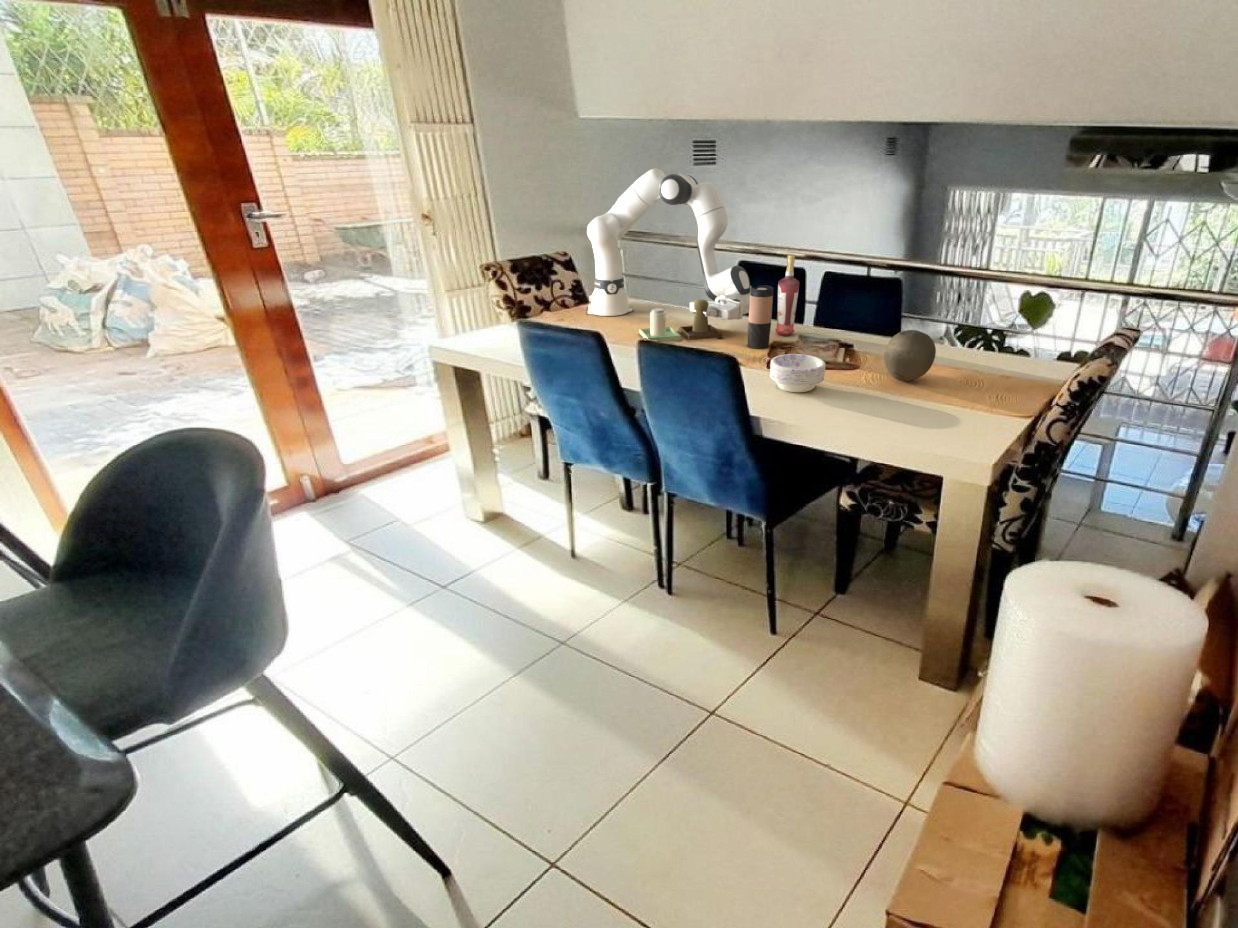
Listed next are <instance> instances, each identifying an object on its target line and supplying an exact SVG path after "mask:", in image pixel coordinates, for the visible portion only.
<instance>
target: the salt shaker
mask: <svg viewBox="0 0 1238 928" xmlns="http://www.w3.org/2000/svg"><path fill="white" fill-rule="evenodd" d="M666 314H667V313H666V311H665V309H664V308H662V307H661V308H660V307H656V308H651V311H649V328H650V337H662V336H665V327H666Z"/></svg>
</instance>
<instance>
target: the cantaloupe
mask: <svg viewBox="0 0 1238 928" xmlns="http://www.w3.org/2000/svg"><path fill="white" fill-rule="evenodd" d="M886 345H887V346H886V348H885V350H884V353H883V362H884V365H885V368H886V371H887V372H888V373H889V375H890V376H891V377H893V378H894V379H895V380H897V381H901V382H911V381H914V380H917V379H920V378H922V377H924V375H926V374H927V373H928V372H929V371H930V369H931V367H932V366H933V364H934V362H935V359H936V354H937V349H936V345H935V342H934V340H933V338H932V337H931V336H930V335H929V334H927V333H925V332H923V331H920V330H917V329H906V330H901V331H899V332H898V333H896V334H894V335H893V336H892V337H891V339H890V340H888V343H887V344H886ZM910 380H911V381H910Z"/></svg>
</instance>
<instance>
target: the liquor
mask: <svg viewBox="0 0 1238 928" xmlns="http://www.w3.org/2000/svg"><path fill="white" fill-rule="evenodd" d="M795 260H796V255H795V254H787V255H786V270H785V276H784V277H783V278H781V279H780V280H778V282H777V283H778V284H777V311H776V312H777V313H776V314H777V315H776V328H775V333H776V334H777V335H778V336H782V337H788V336H791V335H792V334H794V333H795V329H794V327H795V319H796V311H797V303H798V299H799V289H800V281H799V280H798V279H796V277H795V276H794V274H795V272H794V270H795V262H796V261H795Z"/></svg>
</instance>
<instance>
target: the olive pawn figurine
mask: <svg viewBox="0 0 1238 928" xmlns="http://www.w3.org/2000/svg"><path fill="white" fill-rule="evenodd" d="M706 300H707V299H696V300H694V301H695V302H694V308H695V314H693V315H694V316H693V317H694V318H693V323H692V326H693V329H692V331H694V332H707V331H709V327H708V325H709V318H708V317H709V316H708V317H705V316H704V315H703V312H704V311H707V308H708V302H707V301H706Z"/></svg>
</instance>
